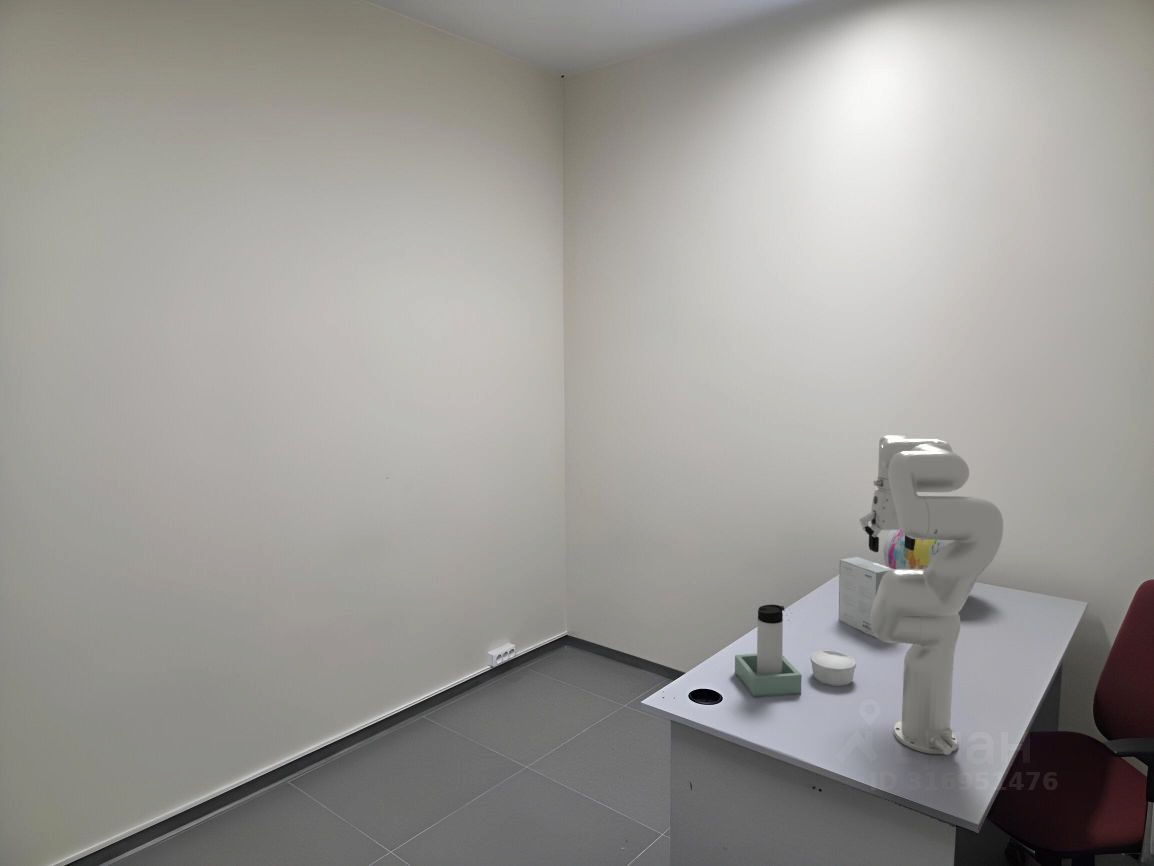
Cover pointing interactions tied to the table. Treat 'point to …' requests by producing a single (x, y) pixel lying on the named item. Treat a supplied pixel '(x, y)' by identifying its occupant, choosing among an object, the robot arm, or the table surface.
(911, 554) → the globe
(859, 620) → the hard drive box
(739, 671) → the tray
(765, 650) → the travel mug
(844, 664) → the ramekin
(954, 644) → the robot arm
